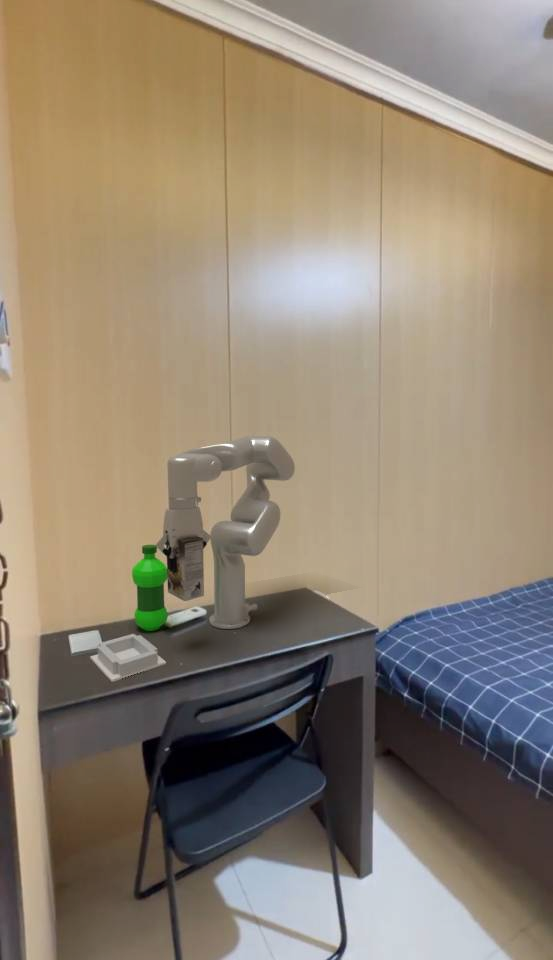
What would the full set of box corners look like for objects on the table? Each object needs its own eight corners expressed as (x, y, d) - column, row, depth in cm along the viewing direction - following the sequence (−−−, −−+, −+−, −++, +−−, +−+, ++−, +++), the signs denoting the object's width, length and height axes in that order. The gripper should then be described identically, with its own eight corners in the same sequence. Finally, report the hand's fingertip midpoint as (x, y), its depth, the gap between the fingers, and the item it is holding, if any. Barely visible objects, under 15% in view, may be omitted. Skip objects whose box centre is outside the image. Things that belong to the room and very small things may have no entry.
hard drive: (104, 646, 131) (98, 629, 142) (71, 653, 127) (68, 634, 138) (104, 652, 131) (98, 634, 142) (71, 659, 127) (68, 640, 138)
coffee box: (166, 592, 132) (164, 535, 130) (187, 587, 137) (185, 531, 134) (184, 602, 126) (182, 541, 123) (205, 595, 130) (203, 537, 128)
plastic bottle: (128, 626, 147) (125, 545, 144) (160, 617, 153) (158, 540, 151) (141, 637, 139) (139, 552, 136) (175, 628, 146) (173, 546, 143)
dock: (141, 643, 135) (140, 631, 135) (166, 664, 124) (165, 650, 123) (90, 658, 126) (89, 645, 126) (111, 682, 115) (111, 667, 114)
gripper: (204, 498, 136) (205, 559, 138) (146, 505, 125) (148, 572, 128) (218, 501, 130) (219, 565, 133) (159, 509, 120) (161, 579, 122)
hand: (185, 568), depth 130 cm, fingers closed on coffee box, 6 cm apart
